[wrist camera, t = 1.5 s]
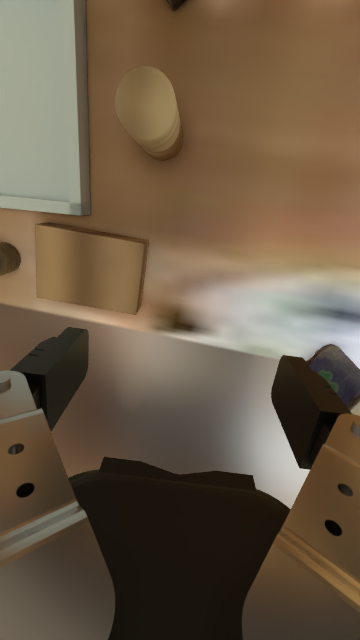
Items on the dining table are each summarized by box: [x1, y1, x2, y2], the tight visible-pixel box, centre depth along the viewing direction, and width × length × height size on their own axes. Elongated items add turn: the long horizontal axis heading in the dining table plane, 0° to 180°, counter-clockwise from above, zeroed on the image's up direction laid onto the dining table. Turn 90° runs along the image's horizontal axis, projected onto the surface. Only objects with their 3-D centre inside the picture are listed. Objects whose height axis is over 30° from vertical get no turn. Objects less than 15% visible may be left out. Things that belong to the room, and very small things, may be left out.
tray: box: [0, 0, 91, 215], centre depth 24 cm, size 11×16×2 cm
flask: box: [306, 344, 360, 416], centre depth 28 cm, size 9×3×11 cm, turn 140°
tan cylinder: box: [115, 66, 183, 160], centre depth 21 cm, size 4×4×9 cm
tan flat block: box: [35, 223, 149, 315], centre depth 29 cm, size 10×7×3 cm
